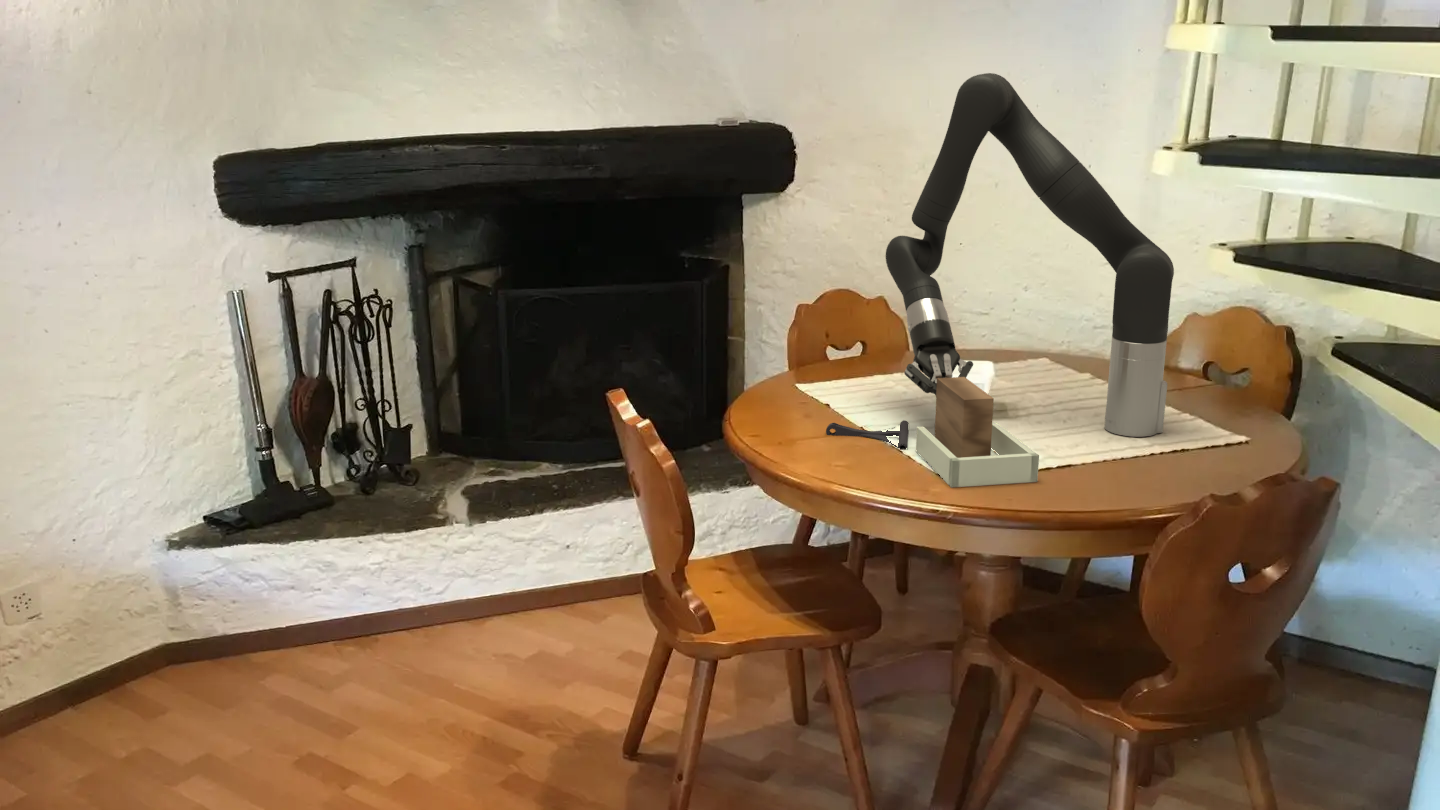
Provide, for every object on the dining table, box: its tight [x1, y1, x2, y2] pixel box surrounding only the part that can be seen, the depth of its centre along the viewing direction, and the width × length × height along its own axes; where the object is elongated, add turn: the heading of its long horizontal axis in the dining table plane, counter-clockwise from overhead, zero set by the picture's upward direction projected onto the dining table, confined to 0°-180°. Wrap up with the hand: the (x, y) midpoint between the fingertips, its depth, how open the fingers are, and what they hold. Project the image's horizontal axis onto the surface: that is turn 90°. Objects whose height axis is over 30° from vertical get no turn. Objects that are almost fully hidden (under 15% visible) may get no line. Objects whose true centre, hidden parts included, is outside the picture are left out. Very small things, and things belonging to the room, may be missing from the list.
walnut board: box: [934, 376, 994, 458], centre depth 190 cm, size 5×14×12 cm, turn 8°
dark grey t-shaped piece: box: [825, 419, 910, 449], centre depth 203 cm, size 14×15×3 cm
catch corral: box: [915, 421, 1040, 488], centre depth 186 cm, size 14×18×4 cm
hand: (948, 410), depth 198 cm, fingers closed
